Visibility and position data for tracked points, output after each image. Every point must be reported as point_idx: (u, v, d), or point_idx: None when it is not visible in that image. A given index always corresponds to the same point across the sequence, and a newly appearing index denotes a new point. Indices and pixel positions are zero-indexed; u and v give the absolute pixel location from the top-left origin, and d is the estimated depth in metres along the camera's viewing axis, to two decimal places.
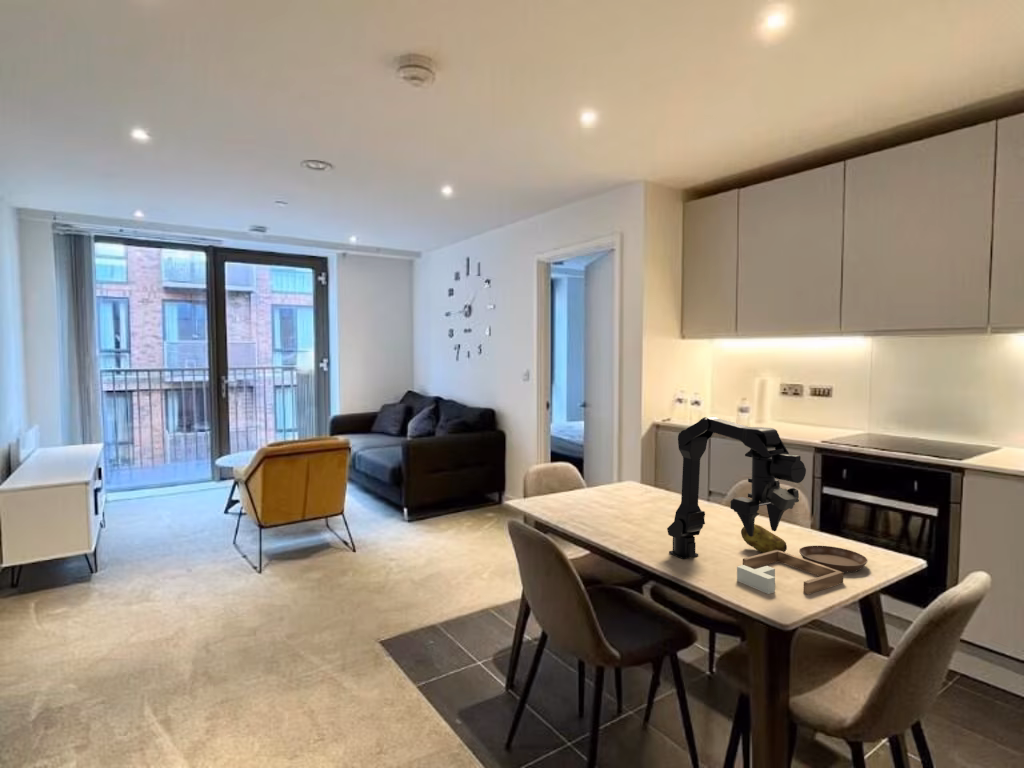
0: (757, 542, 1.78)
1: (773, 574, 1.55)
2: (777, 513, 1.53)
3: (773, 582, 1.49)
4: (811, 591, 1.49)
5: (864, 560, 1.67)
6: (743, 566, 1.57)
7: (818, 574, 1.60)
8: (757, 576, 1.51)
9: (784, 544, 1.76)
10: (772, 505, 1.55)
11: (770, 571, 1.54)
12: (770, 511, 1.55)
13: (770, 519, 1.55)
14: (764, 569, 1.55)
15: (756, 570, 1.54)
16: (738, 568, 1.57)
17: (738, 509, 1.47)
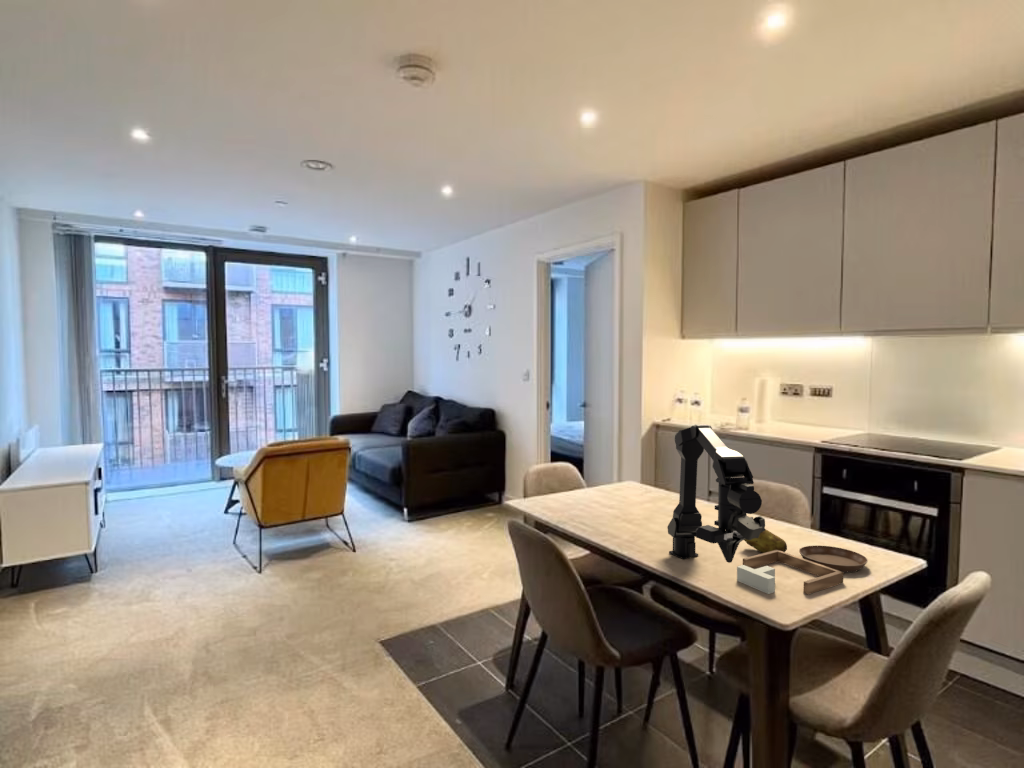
0: (757, 542, 1.78)
1: (773, 574, 1.55)
2: (733, 544, 1.47)
3: (773, 582, 1.49)
4: (811, 591, 1.49)
5: (864, 560, 1.67)
6: (743, 566, 1.57)
7: (818, 574, 1.60)
8: (757, 576, 1.51)
9: (784, 544, 1.76)
10: None
11: (770, 571, 1.54)
12: None
13: None
14: (764, 569, 1.55)
15: (756, 570, 1.54)
16: (738, 568, 1.57)
17: (703, 538, 1.43)
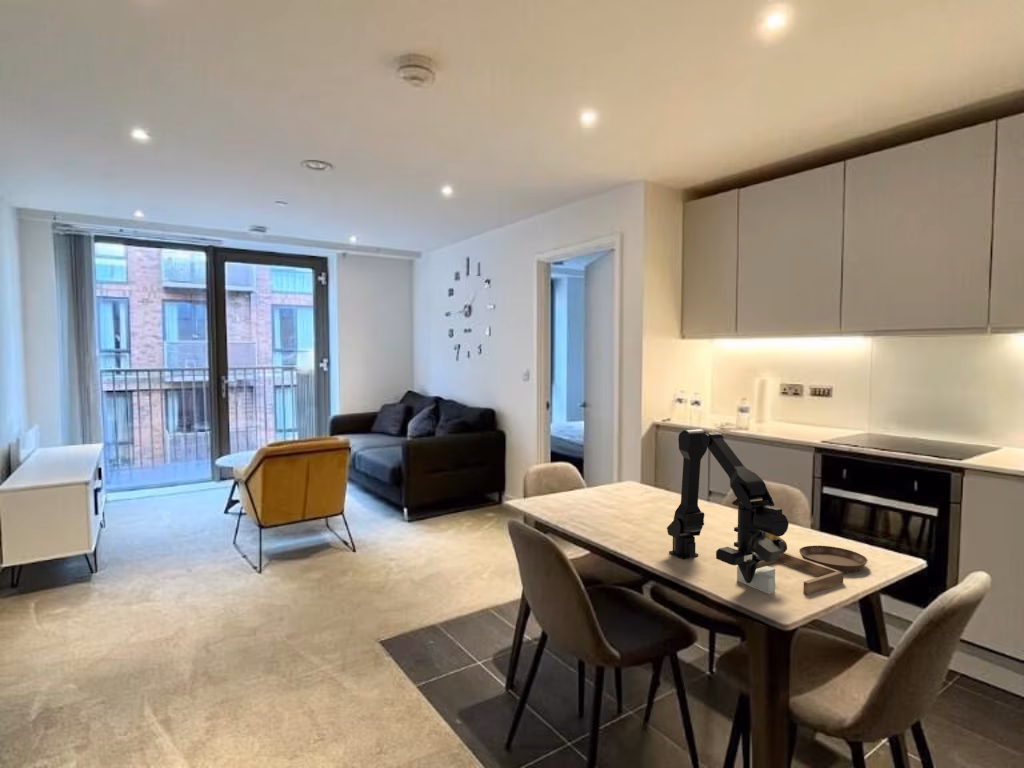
0: None
1: (773, 574, 1.55)
2: (752, 565, 1.51)
3: (773, 582, 1.49)
4: (811, 591, 1.49)
5: (864, 560, 1.67)
6: None
7: (818, 574, 1.60)
8: (757, 576, 1.51)
9: (784, 544, 1.76)
10: None
11: (770, 571, 1.54)
12: None
13: None
14: (764, 569, 1.55)
15: (756, 570, 1.54)
16: (738, 568, 1.57)
17: (723, 560, 1.47)
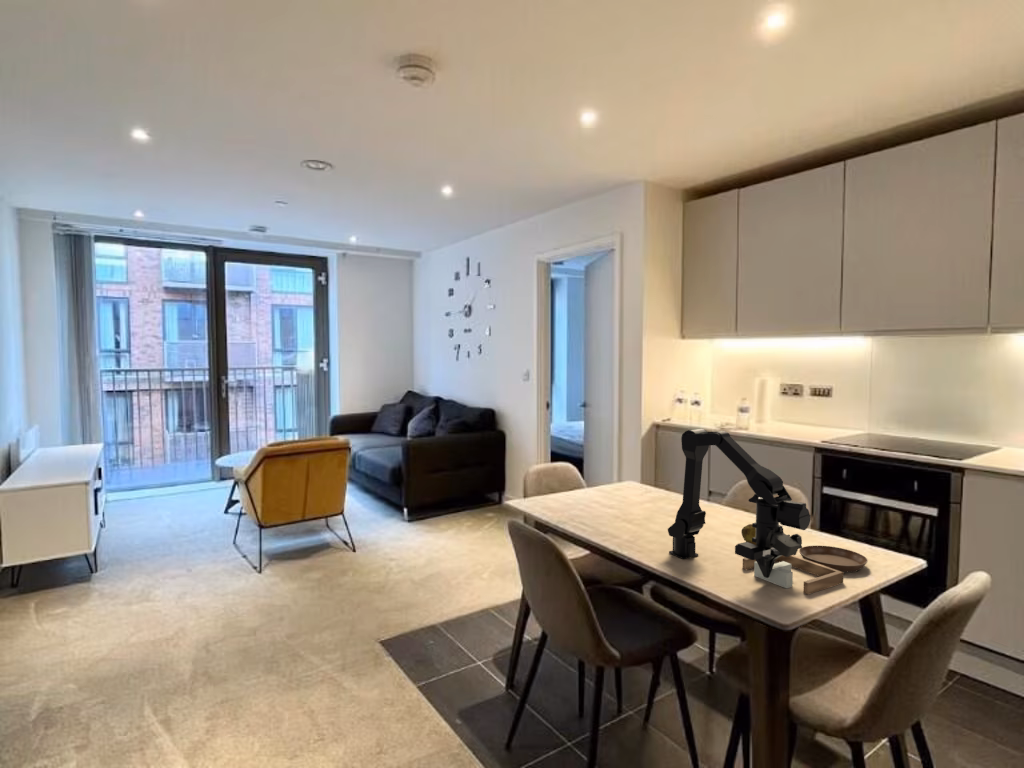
0: None
1: (790, 569, 1.58)
2: (770, 560, 1.54)
3: (791, 577, 1.53)
4: (811, 591, 1.49)
5: (864, 560, 1.67)
6: None
7: (818, 574, 1.60)
8: (774, 571, 1.55)
9: None
10: None
11: (787, 566, 1.58)
12: None
13: None
14: (781, 564, 1.58)
15: (773, 565, 1.57)
16: (755, 563, 1.60)
17: (742, 555, 1.51)
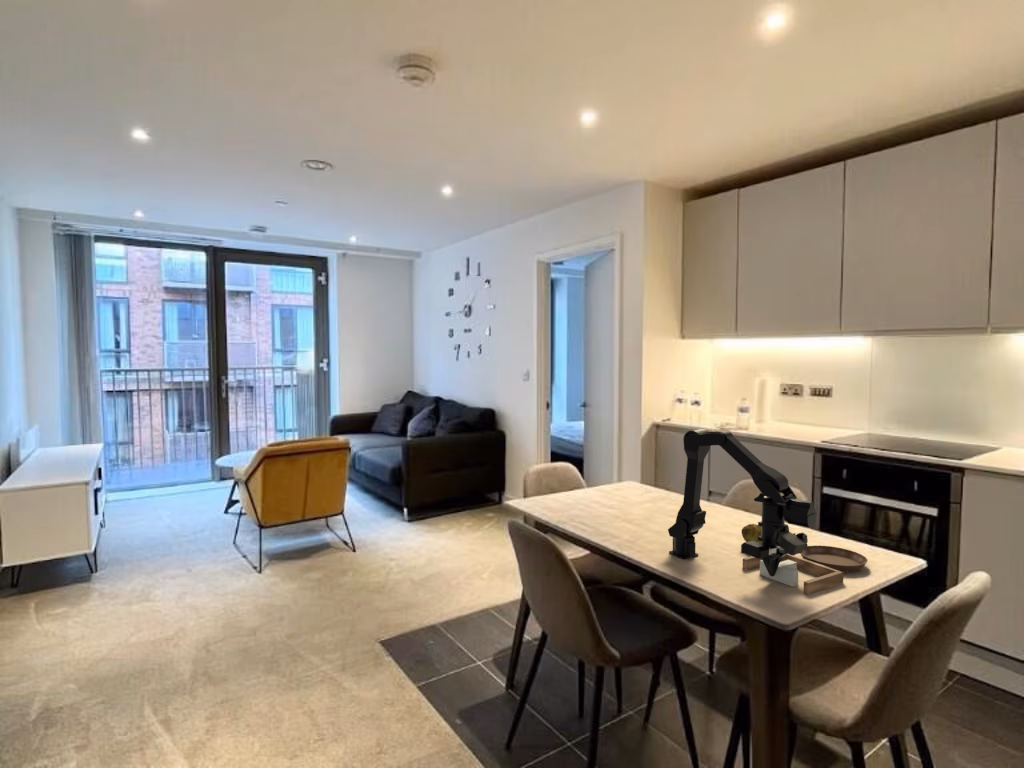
0: None
1: (795, 567, 1.59)
2: (775, 558, 1.56)
3: (797, 575, 1.54)
4: (811, 591, 1.49)
5: (864, 560, 1.67)
6: None
7: (818, 574, 1.60)
8: (780, 569, 1.56)
9: None
10: None
11: (792, 565, 1.59)
12: None
13: None
14: (787, 563, 1.59)
15: (779, 564, 1.58)
16: (761, 562, 1.61)
17: (749, 553, 1.52)
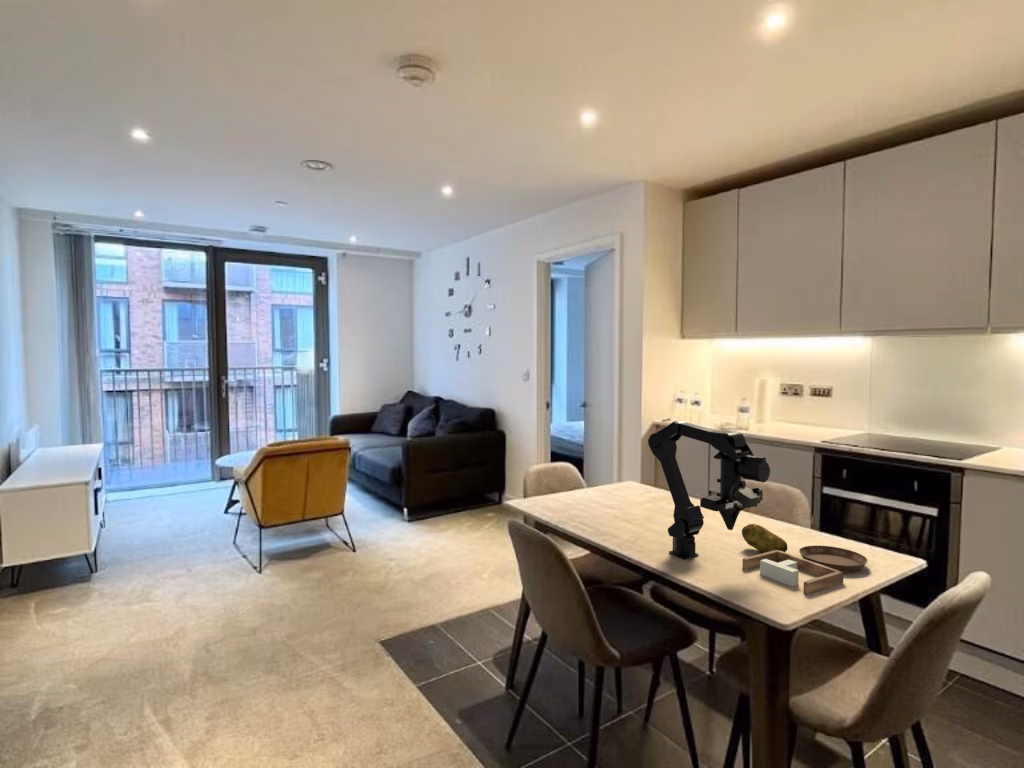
0: (757, 542, 1.78)
1: (795, 567, 1.60)
2: (733, 513, 1.63)
3: (797, 575, 1.54)
4: (811, 591, 1.49)
5: (864, 560, 1.67)
6: (766, 560, 1.61)
7: (818, 574, 1.60)
8: (780, 569, 1.56)
9: (785, 544, 1.76)
10: None
11: (792, 564, 1.59)
12: None
13: None
14: (787, 563, 1.59)
15: (779, 564, 1.59)
16: (761, 562, 1.61)
17: (707, 507, 1.59)
